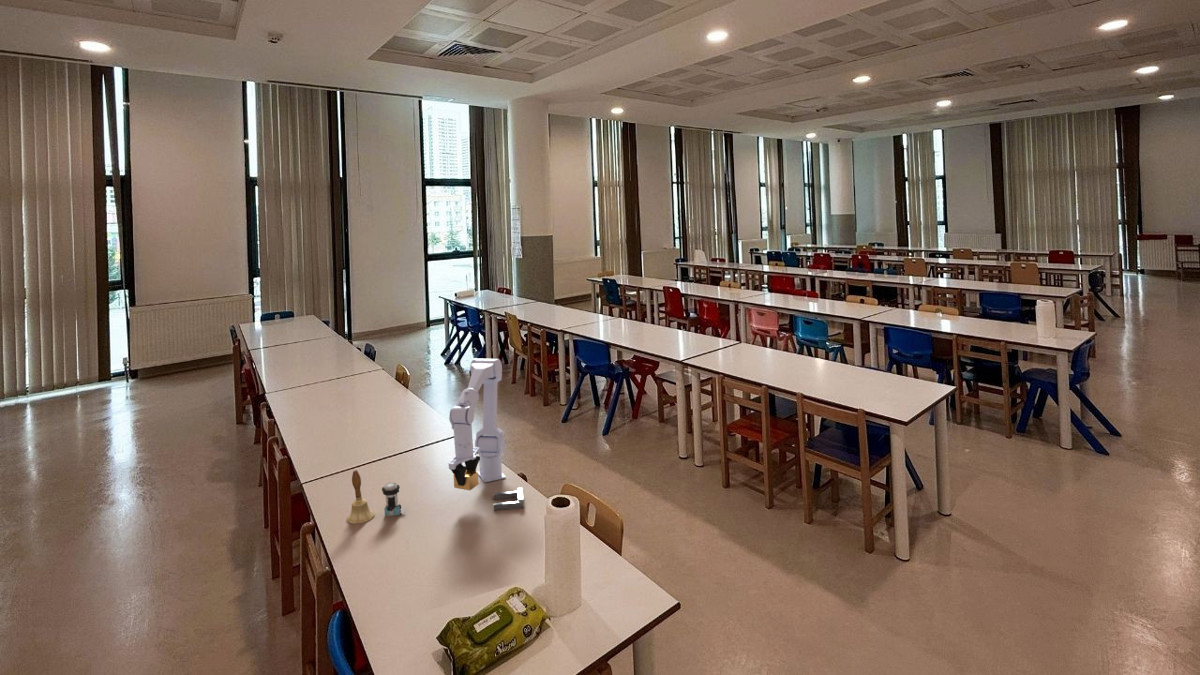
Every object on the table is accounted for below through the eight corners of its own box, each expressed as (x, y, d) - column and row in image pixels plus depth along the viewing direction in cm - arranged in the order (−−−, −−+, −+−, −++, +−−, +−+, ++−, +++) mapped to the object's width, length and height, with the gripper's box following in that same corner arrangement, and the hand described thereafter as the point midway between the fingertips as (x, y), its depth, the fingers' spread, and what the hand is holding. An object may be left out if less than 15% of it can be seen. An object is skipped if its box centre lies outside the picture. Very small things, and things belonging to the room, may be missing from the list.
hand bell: (365, 525, 187) (360, 476, 184) (341, 523, 189) (335, 475, 186) (379, 512, 195) (375, 466, 192) (356, 510, 197) (351, 464, 194)
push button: (408, 509, 196) (405, 481, 195) (403, 517, 191) (400, 488, 189) (387, 510, 196) (384, 481, 195) (381, 518, 191) (379, 488, 189)
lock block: (454, 487, 196) (453, 474, 195) (463, 481, 201) (462, 468, 200) (469, 490, 194) (469, 477, 193) (478, 484, 198) (477, 471, 198)
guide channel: (493, 510, 195) (493, 502, 194) (493, 498, 203) (493, 490, 203) (523, 507, 196) (523, 499, 196) (522, 495, 205) (522, 487, 204)
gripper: (460, 451, 186) (463, 492, 189) (486, 436, 199) (488, 474, 202) (441, 449, 189) (444, 489, 192) (468, 433, 202) (471, 471, 205)
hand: (466, 481), depth 197 cm, fingers closed on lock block, 5 cm apart
